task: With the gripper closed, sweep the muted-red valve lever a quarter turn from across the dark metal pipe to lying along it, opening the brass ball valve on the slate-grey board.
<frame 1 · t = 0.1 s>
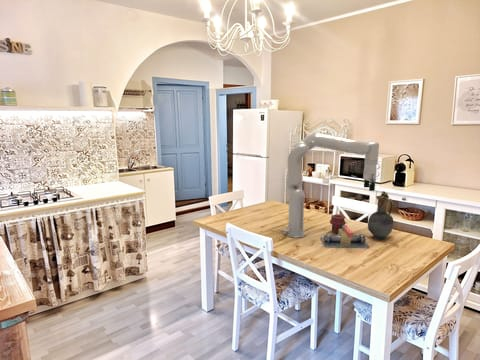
hand: (369, 188, 202), 31 cm above the table, fingers open, 9 cm apart
valve body: (344, 243, 196), on the table
pitcher: (380, 237, 205), on the table
lever: (347, 231, 189), point 10 cm above the table, hinge at -90.0°
mechanical component: (337, 233, 214), on the table
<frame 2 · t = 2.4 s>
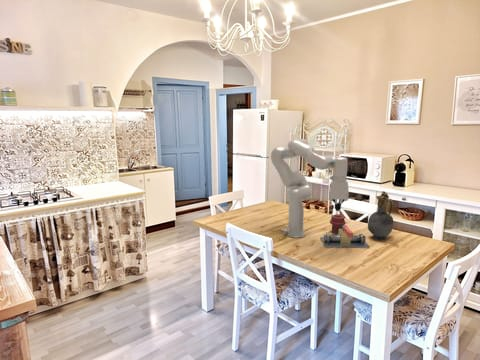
hand: (337, 210, 184), 23 cm above the table, fingers closed
nothing on the table moved.
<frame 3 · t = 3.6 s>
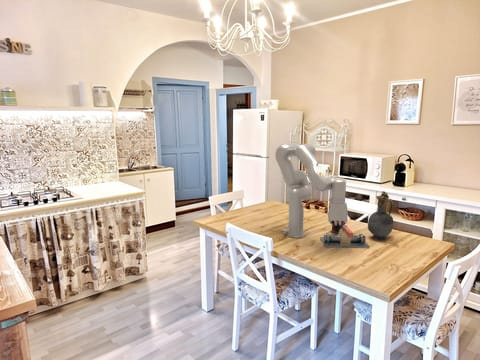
hand: (336, 231, 186), 11 cm above the table, fingers closed
nothing on the table moved.
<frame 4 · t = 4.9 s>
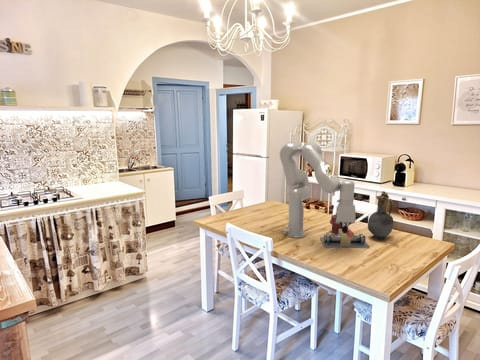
hand: (344, 232, 186), 10 cm above the table, fingers closed
lever: (347, 231, 189), point 10 cm above the table, hinge at -88.3°, touching gripper
everything else where it was.
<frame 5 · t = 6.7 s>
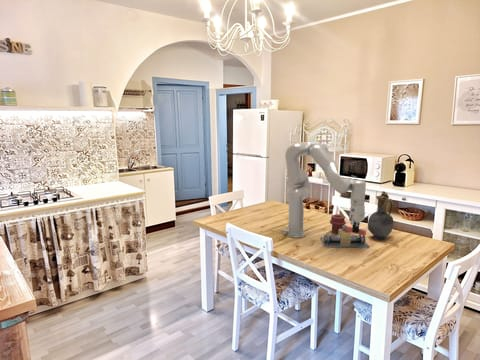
hand: (355, 232, 187), 10 cm above the table, fingers closed
lever: (353, 230, 190), point 10 cm above the table, hinge at -42.5°, touching gripper
everything else where it was.
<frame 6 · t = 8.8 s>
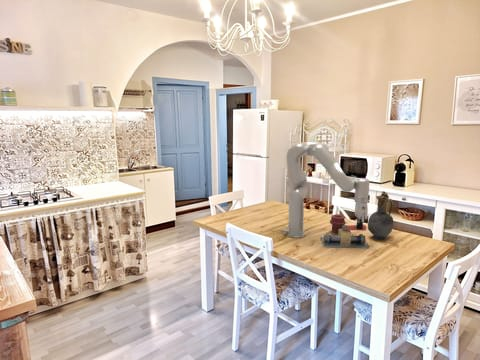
hand: (359, 229, 192), 10 cm above the table, fingers closed
lever: (353, 227, 194), point 10 cm above the table, hinge at 6.5°, touching gripper
everything else where it was.
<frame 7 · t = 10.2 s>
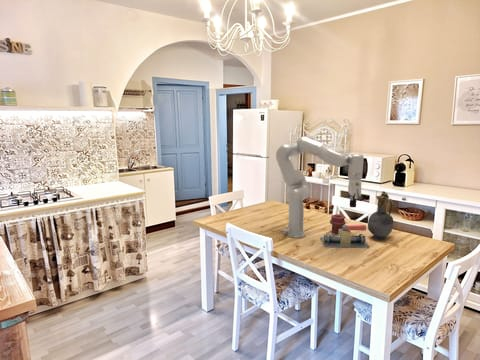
hand: (352, 206, 185), 25 cm above the table, fingers closed
lever: (353, 227, 194), point 10 cm above the table, hinge at 6.5°
everything else where it was.
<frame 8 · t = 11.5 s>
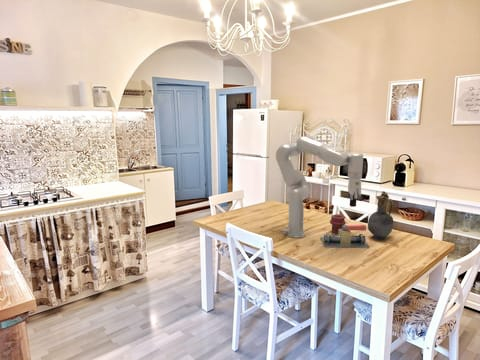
hand: (352, 206, 185), 25 cm above the table, fingers closed
nothing on the table moved.
at the end: lever at +6° (first picture: -90°) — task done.
